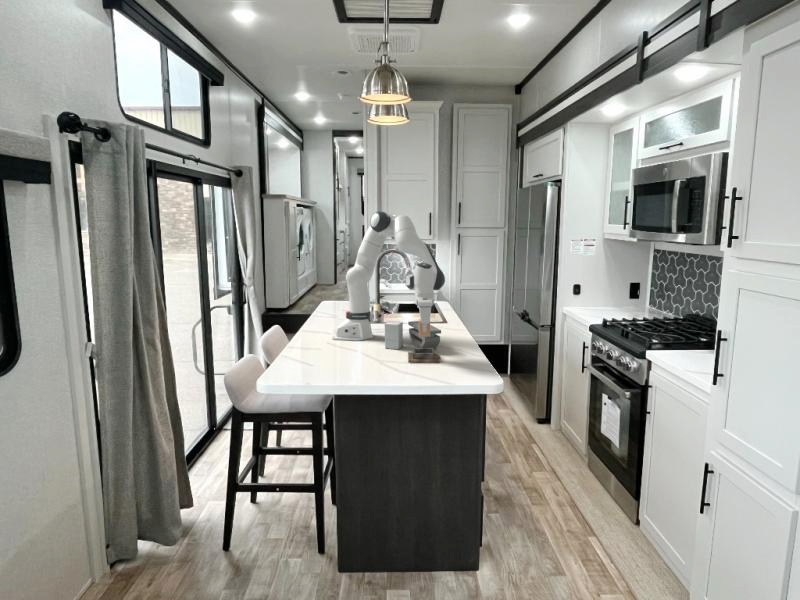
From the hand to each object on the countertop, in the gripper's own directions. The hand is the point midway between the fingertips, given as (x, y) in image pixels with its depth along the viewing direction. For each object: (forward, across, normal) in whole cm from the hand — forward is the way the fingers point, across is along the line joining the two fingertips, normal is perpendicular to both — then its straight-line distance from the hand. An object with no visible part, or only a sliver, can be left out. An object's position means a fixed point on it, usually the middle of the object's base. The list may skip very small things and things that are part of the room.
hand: (424, 329), depth 224 cm
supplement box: (+14, -21, -14) cm, 29 cm away
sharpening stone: (+14, -22, +1) cm, 26 cm away
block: (+2, 0, 0) cm, 2 cm away
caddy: (+13, 0, 0) cm, 13 cm away
